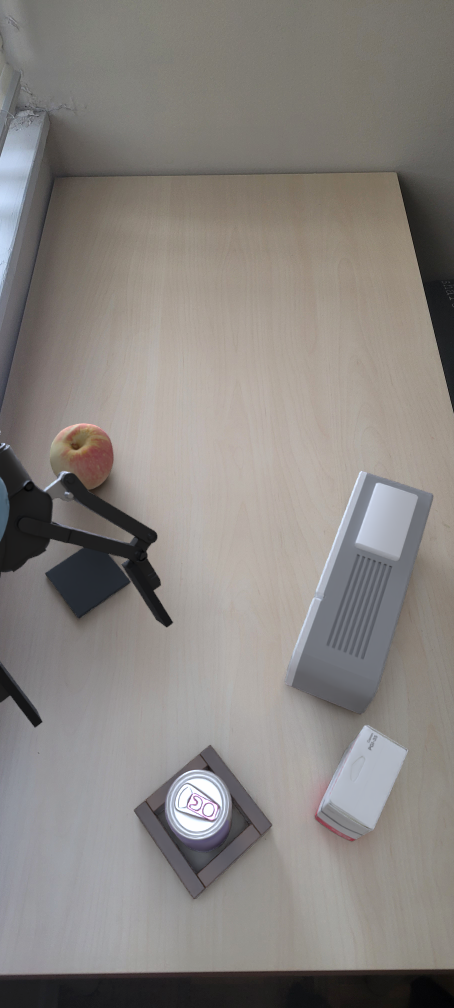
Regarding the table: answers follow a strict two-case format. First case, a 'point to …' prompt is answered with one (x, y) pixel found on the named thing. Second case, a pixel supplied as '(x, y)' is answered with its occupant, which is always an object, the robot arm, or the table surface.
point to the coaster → (87, 579)
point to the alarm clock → (360, 594)
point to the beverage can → (199, 810)
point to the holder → (228, 855)
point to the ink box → (361, 784)
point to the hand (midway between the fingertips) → (103, 668)
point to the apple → (83, 454)
